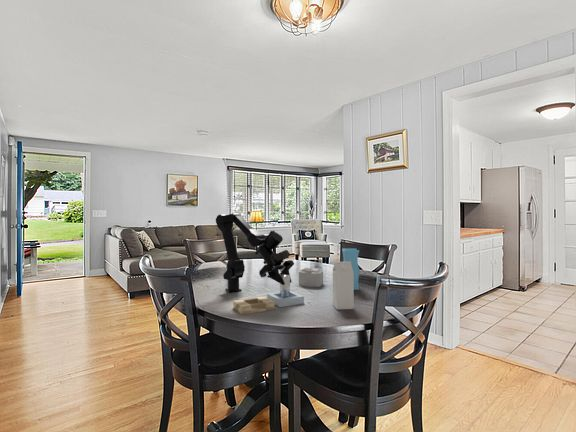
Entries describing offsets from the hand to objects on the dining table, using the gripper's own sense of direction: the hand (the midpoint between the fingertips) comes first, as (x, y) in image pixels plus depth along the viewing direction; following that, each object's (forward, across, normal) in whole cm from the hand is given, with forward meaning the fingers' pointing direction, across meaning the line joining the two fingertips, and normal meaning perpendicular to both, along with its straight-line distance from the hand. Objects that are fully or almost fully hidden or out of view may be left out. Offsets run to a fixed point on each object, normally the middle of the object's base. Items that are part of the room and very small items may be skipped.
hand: (287, 283), depth 145 cm
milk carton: (+22, +9, -10) cm, 26 cm away
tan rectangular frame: (+2, -16, +10) cm, 19 cm away
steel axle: (+4, 0, +6) cm, 7 cm away
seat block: (+5, 0, +7) cm, 8 cm away
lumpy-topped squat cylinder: (-2, +34, +15) cm, 38 cm away
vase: (+13, +40, -1) cm, 42 cm away
